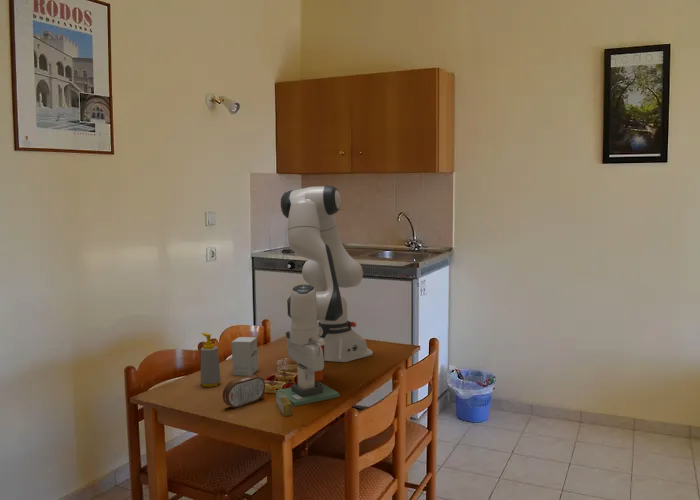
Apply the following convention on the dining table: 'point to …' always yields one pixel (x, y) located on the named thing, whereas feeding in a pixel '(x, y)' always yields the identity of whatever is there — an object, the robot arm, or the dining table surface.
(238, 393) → the tin
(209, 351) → the soap bottle
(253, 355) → the supplement box
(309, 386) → the plug
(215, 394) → the dining table surface
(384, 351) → the dining table surface
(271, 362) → the dining table surface
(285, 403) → the medication box
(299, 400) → the board
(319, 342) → the paper cup
